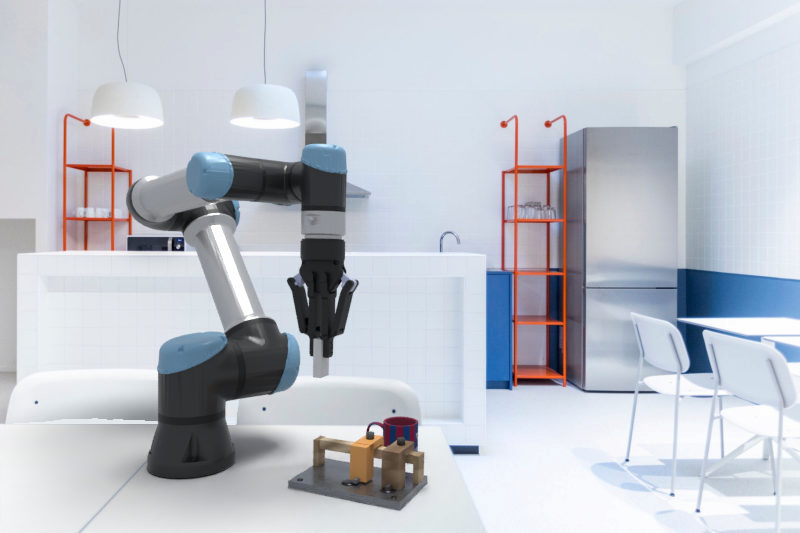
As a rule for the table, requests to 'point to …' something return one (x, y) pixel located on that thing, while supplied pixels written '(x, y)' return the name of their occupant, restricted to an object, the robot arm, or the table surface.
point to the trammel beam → (390, 456)
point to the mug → (398, 430)
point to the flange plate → (354, 485)
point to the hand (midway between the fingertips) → (320, 376)
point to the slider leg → (364, 457)
